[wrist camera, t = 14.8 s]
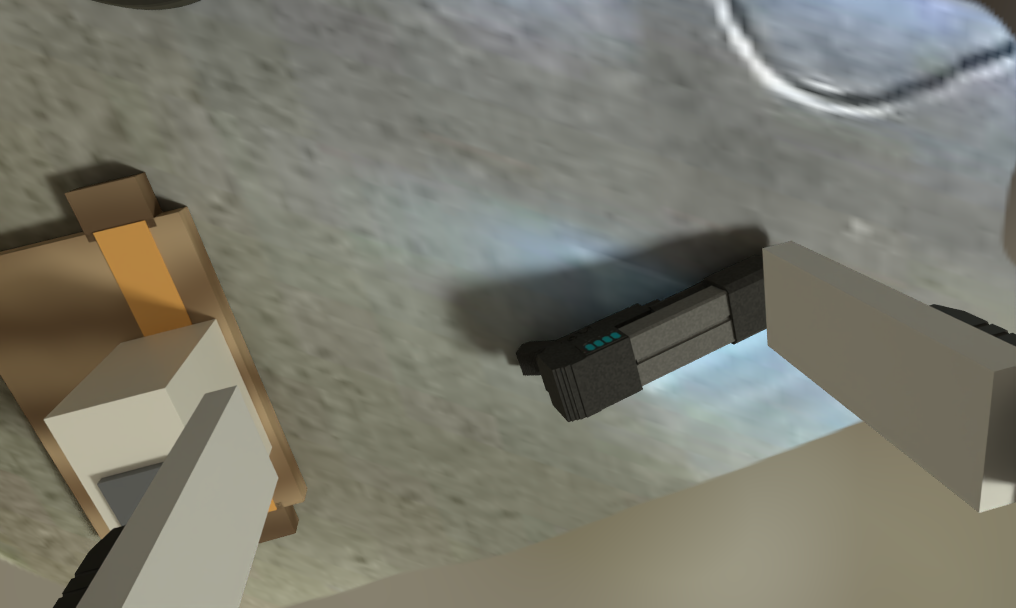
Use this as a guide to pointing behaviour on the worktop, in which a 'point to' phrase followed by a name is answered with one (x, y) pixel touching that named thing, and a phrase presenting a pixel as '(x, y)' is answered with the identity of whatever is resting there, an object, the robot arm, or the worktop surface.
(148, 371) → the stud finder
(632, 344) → the gun
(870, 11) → the worktop surface
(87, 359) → the subfloor panel
